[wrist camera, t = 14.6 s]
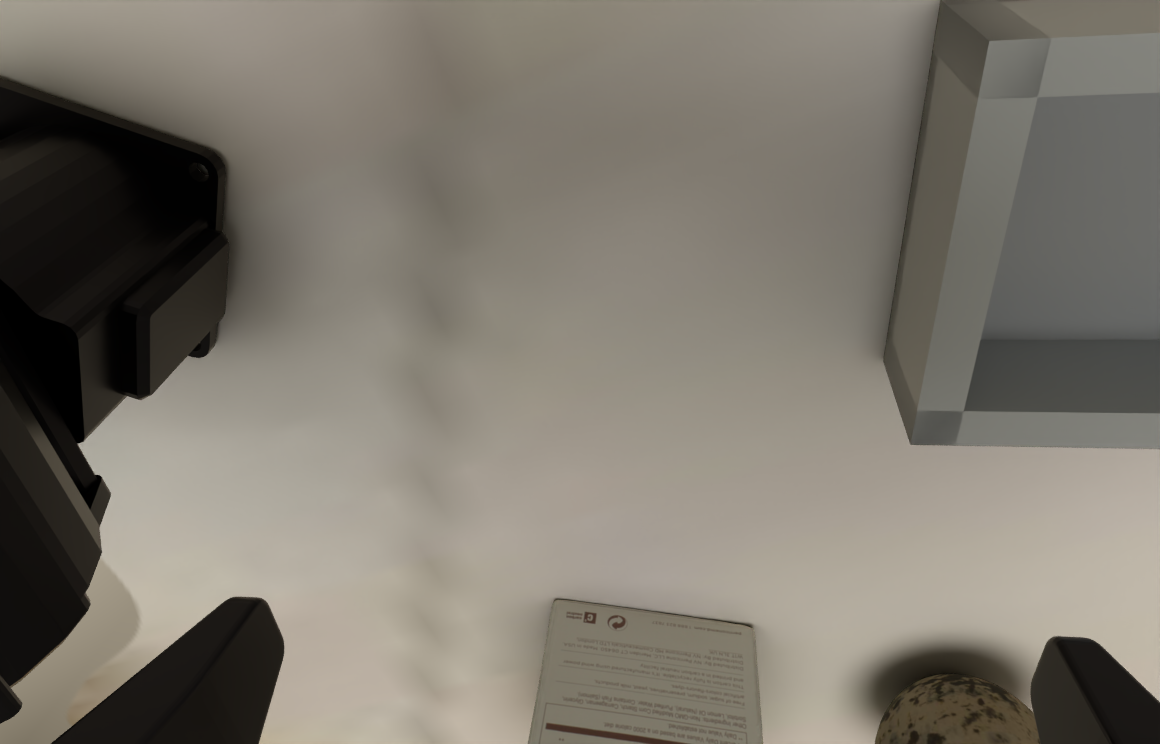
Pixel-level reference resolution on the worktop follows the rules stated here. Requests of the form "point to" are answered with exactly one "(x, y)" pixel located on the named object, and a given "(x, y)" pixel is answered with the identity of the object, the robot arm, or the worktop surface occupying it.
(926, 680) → the decorative egg
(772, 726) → the worktop surface
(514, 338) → the worktop surface
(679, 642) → the supplement box
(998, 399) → the grey divided tray
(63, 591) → the robot arm
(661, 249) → the worktop surface
